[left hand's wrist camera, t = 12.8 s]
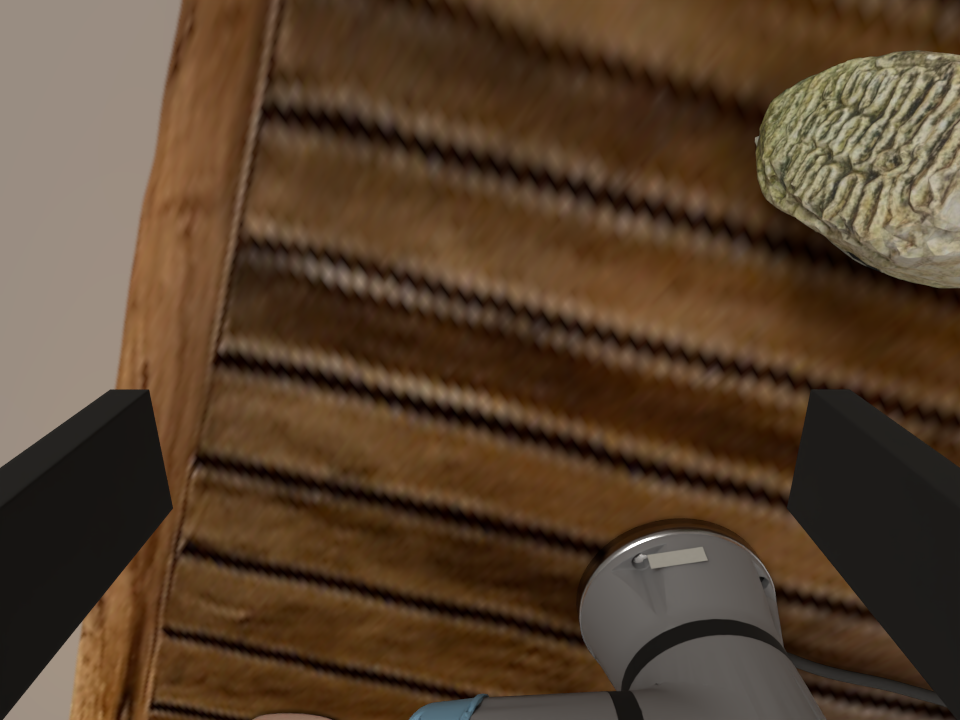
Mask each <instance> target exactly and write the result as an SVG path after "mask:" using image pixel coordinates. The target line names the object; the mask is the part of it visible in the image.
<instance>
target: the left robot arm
mask: <svg viewBox="0 0 960 720" xmlns="http://www.w3.org/2000/svg"><path fill="white" fill-rule="evenodd" d="M172 509H173V506H172V501H171V496H170V491H169V486H168V481H167V476H166V471H165V466H164V462H163V457H162V452H161V447H160V442H159V437H158V432H157V427H156V422H155V417H154V412H153V407H152V402H151V397H150V392H149V390H109V391H108V392H106V393H105V394H103V395H102V396H101V397H99V398H98V399H96V400H95V401H94V402H92V403H91V404H89V405H88V406H87V407H85V408H84V409H82V410H81V411H80V412H78V413H77V414H75V415H74V416H73V417H71V418H70V419H68V420H67V421H66V422H64V423H63V424H61V425H60V426H58V427H57V428H56V429H54V430H53V431H52V432H50V433H49V434H47V435H46V436H44V437H43V438H42V439H40V440H39V441H37V442H36V443H35V444H33V445H32V446H30V447H29V448H28V449H26V450H25V451H23V452H22V453H21V454H19V455H18V456H16V457H15V458H13V459H12V460H11V461H9V462H8V463H7V464H5V465H4V466H2V467H1V468H0V720H3V719H4V718H5V716H6V715H7V714H8V713H9V711H10V710H11V709H12V708H13V706H14V705H15V704H16V703H17V701H18V700H19V699H20V698H21V696H22V695H23V694H24V693H25V692H26V690H27V689H28V688H29V686H30V685H31V684H32V683H33V682H34V680H35V679H36V678H37V677H38V675H39V674H40V673H41V672H42V670H43V669H44V668H45V667H46V665H47V664H48V663H49V662H50V660H51V659H52V658H53V657H54V655H55V654H56V653H57V652H58V650H59V649H60V648H61V647H62V645H63V644H64V643H65V642H66V641H67V639H68V638H69V637H70V636H71V634H72V633H73V632H74V631H75V629H76V628H77V627H78V626H79V624H80V623H81V622H82V621H83V619H84V618H85V617H86V616H87V614H88V613H89V612H90V611H91V609H92V608H93V607H94V606H95V605H96V603H97V602H98V601H99V600H100V598H101V597H102V596H103V595H104V593H105V592H106V591H107V590H108V588H109V587H110V586H111V585H112V583H113V582H114V581H115V580H116V578H117V577H118V576H119V575H120V573H121V572H122V571H123V570H124V568H125V567H126V566H127V565H128V564H129V562H130V561H131V560H132V559H133V557H134V556H135V555H136V554H137V552H138V551H139V550H140V549H141V547H142V546H143V545H144V544H145V542H146V541H147V540H148V539H149V537H150V536H151V535H152V534H153V532H154V531H155V530H156V529H157V527H158V526H159V525H160V524H161V523H162V521H163V520H164V519H165V518H166V516H167V515H168V514H169V513H170V511H171V510H172ZM787 509H788V510H789V511H790V513H791V514H792V515H793V516H794V518H795V519H796V520H797V521H798V523H799V524H800V525H801V526H802V527H803V529H804V530H805V531H806V532H807V534H808V535H809V536H810V537H811V539H812V540H813V541H814V542H815V544H816V545H817V546H818V547H819V549H820V550H821V551H822V552H823V554H824V555H825V556H826V557H827V559H828V560H829V561H830V562H831V564H832V565H833V566H834V567H835V568H836V570H837V571H838V572H839V573H840V575H841V576H842V577H843V578H844V580H845V581H846V582H847V583H848V585H849V586H850V587H851V588H852V590H853V591H854V592H855V593H856V595H857V596H858V597H859V598H860V600H861V601H862V602H863V603H864V605H865V606H866V607H867V608H868V609H869V611H870V612H871V613H872V614H873V616H874V617H875V618H876V619H877V621H878V622H879V623H880V624H881V626H882V627H883V628H884V629H885V631H886V632H887V633H888V634H889V636H890V637H891V638H892V639H893V641H894V642H895V643H896V644H897V646H898V647H899V648H900V649H901V651H902V652H903V653H904V654H905V655H906V657H907V658H908V659H909V660H910V662H911V663H912V664H913V665H914V667H915V668H916V669H917V670H918V672H919V673H920V674H921V675H922V677H923V678H924V679H925V680H926V682H927V683H928V684H929V685H930V687H931V688H932V689H933V690H934V691H930V690H926V689H923V688H919V687H915V686H912V685H908V684H905V683H901V682H897V681H894V680H890V679H886V678H881V677H877V676H872V675H867V674H862V673H857V672H851V671H847V670H842V669H838V668H833V667H829V666H826V665H822V664H819V663H815V662H812V661H809V660H807V659H804V658H801V657H799V656H796V655H793V654H791V653H788V652H786V650H785V649H784V646H783V640H782V633H781V627H780V621H779V614H778V608H777V603H776V595H775V589H774V585H773V582H772V579H771V577H770V575H769V573H768V571H767V570H766V568H765V567H764V565H763V563H762V562H761V560H760V559H759V557H758V556H757V554H756V553H755V551H754V550H753V549H752V548H751V546H750V545H749V544H748V543H747V542H746V541H745V540H744V539H742V538H741V537H740V536H738V535H737V534H736V533H734V532H732V531H730V530H729V529H727V528H724V527H722V526H720V525H717V524H714V523H711V522H706V521H702V520H695V519H667V520H661V521H655V522H651V523H648V524H644V525H641V526H639V527H636V528H634V529H631V530H629V531H627V532H625V533H623V534H622V535H620V536H618V537H617V538H615V539H614V540H612V541H611V542H610V543H608V544H607V545H606V546H605V547H603V548H602V549H601V550H600V551H599V552H598V553H597V554H596V556H595V557H594V558H593V559H592V560H591V562H590V563H589V565H588V566H587V568H586V570H585V572H584V573H583V576H582V578H581V580H580V583H579V587H578V592H577V602H576V605H577V613H578V618H579V623H580V628H581V633H582V637H583V639H584V642H585V644H586V646H587V648H588V650H589V651H590V653H591V654H592V656H593V657H594V658H595V659H596V661H597V662H598V663H599V664H600V666H601V667H602V669H603V670H604V672H605V673H606V675H607V677H608V678H609V680H610V681H611V683H612V685H613V686H614V688H615V689H616V691H611V692H608V691H604V692H584V693H564V694H544V695H524V696H505V697H489V696H488V694H479V695H477V696H476V697H474V698H471V699H462V700H453V701H444V702H435V703H430V704H427V705H425V706H423V707H422V708H420V709H419V710H418V711H417V712H415V713H414V714H413V715H412V717H411V718H410V719H409V720H826V718H825V716H824V715H823V713H822V711H821V710H820V708H819V706H818V705H817V703H816V701H815V700H814V698H813V696H812V695H811V693H810V691H809V689H808V688H807V686H806V684H805V683H804V681H803V679H802V678H801V676H800V674H799V673H798V671H797V669H796V668H799V669H801V670H804V671H807V672H810V673H813V674H816V675H819V676H823V677H826V678H830V679H834V680H838V681H843V682H847V683H852V684H857V685H862V686H867V687H872V688H877V689H882V690H886V691H891V692H895V693H899V694H902V695H906V696H909V697H913V698H917V699H920V700H924V701H928V702H931V703H935V704H938V705H942V706H945V707H947V708H948V709H949V710H950V711H951V713H952V714H953V715H954V716H955V718H956V719H957V720H960V468H959V467H958V466H956V465H955V464H954V463H952V462H951V461H949V460H948V459H947V458H945V457H944V456H942V455H941V454H940V453H938V452H937V451H935V450H934V449H932V448H931V447H930V446H928V445H927V444H925V443H924V442H923V441H921V440H920V439H918V438H917V437H916V436H914V435H913V434H911V433H910V432H909V431H907V430H906V429H904V428H903V427H902V426H900V425H899V424H897V423H896V422H894V421H893V420H892V419H890V418H889V417H887V416H886V415H885V414H883V413H882V412H880V411H879V410H878V409H876V408H875V407H873V406H872V405H871V404H869V403H868V402H866V401H865V400H864V399H862V398H861V397H859V396H858V395H857V394H855V393H854V392H852V391H851V390H811V392H810V397H809V402H808V407H807V412H806V417H805V422H804V427H803V432H802V437H801V442H800V447H799V452H798V457H797V462H796V466H795V471H794V476H793V481H792V486H791V491H790V496H789V501H788V506H787ZM795 667H796V668H795Z"/></svg>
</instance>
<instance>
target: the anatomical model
mask: <svg viewBox="0 0 960 720" xmlns="http://www.w3.org/2000/svg"><path fill="white" fill-rule="evenodd" d="M253 720H332V719H329V718H326V717H322V716H316V715H310V714H297V713H277V714H266V715H262V716H258V717H256V718H254V719H253Z"/></svg>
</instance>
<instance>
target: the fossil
mask: <svg viewBox="0 0 960 720" xmlns="http://www.w3.org/2000/svg"><path fill="white" fill-rule="evenodd" d="M755 143H756V146H757V148H756V164H757V179H758V182H759V184H760V187H761V190H762V193H763V195H764V197H765V198H766V200H768V201H769V202H770V203H771V204H772V205H774V206H775V207H776V208H778V209H779V210H781V211H783V212H785V213H787V214H789V215H791V216H793V217H795V218H797V219H798V220H799V221H801V222H802V223H804V224H805V225H806V226H808V227H810V228H811V229H813V230H815V232H819V233H821V234H822V235H824V236H825V237H826V238H827V239H828V240H829V241H830V242H832V243H833V244H834V245H835V246H836V247H838V248H839V249H840V250H842V251H843V252H844V253H846V254H847V255H848V256H849V257H851V258H852V259H853V260H855V261H857V262H859V263H861V264H863V265H865V266H867V267H869V268H872V269H874V270H876V271H880V272H882V273H885V274H887V275H890V276H893V277H896V278H898V279H900V280H905V281H909V282H913V283H917V284H924V285H928V286H932V287H937V288H960V55H954V54H947V53H935V52H927V51H919V50H918V51H902V52H893V53H890V54H887V55H883V56H879V57H867V58H856V59H852V60H849V61H846V62H845V63H842V64H838V65H837V66H833V67H831V68H829V69H827V70H825V71H823V72H821V73H819V74H816V75H813V76H810V77H808V78H806V79H804V80H802V81H800V82H798V83H797V84H796V85H794V86H793V87H792V88H789V89H786V90H785V91H784V92H783V93H781V94H780V95H779V96H777V97H776V98H775V99H774V100H772V102H771V103H770V105H769V107H768V109H767V112H766V114H765V116H764V119H763V121H762V124H761V126H760V136H758V137H756V138H755Z"/></svg>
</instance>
